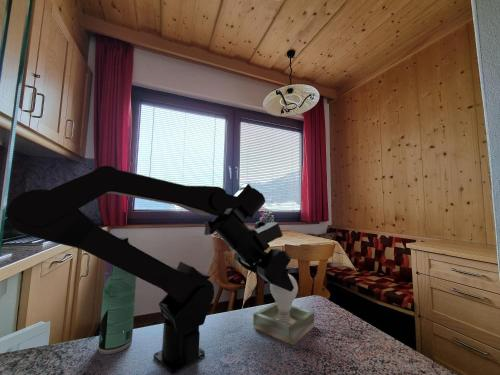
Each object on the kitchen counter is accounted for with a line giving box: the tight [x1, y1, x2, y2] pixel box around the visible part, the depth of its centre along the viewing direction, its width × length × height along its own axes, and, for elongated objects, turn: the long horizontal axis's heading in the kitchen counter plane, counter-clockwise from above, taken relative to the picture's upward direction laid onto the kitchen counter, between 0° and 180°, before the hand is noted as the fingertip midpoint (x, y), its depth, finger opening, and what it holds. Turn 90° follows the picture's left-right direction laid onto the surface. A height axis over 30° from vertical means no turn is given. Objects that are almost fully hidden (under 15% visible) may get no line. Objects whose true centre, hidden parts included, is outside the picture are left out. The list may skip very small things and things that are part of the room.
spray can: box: [97, 237, 137, 355], centre depth 43 cm, size 6×6×20 cm
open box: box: [252, 301, 315, 346], centre depth 50 cm, size 10×10×3 cm
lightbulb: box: [269, 273, 299, 324], centre depth 50 cm, size 6×6×11 cm
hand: (281, 283), depth 51 cm, fingers open, 9 cm apart
